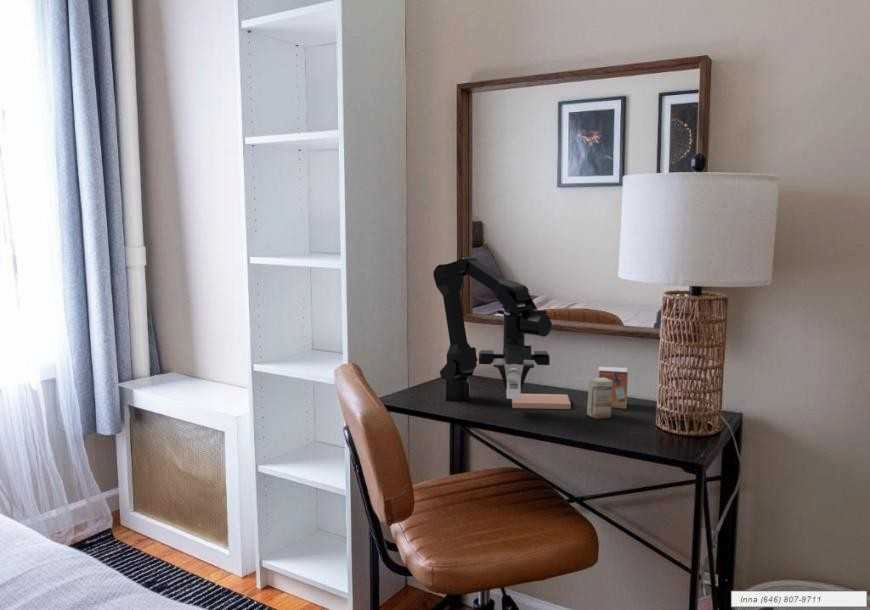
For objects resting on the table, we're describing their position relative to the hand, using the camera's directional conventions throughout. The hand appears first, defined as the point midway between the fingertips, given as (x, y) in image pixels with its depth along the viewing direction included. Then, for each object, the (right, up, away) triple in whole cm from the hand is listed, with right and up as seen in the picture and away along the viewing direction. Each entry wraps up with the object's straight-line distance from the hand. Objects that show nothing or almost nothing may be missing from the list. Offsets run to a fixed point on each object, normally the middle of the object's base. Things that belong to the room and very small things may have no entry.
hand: (513, 388), depth 194 cm
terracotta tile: (+9, -5, +10) cm, 15 cm away
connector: (0, -2, 0) cm, 2 cm away
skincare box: (+23, -7, -2) cm, 24 cm away
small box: (+29, -6, +9) cm, 30 cm away
